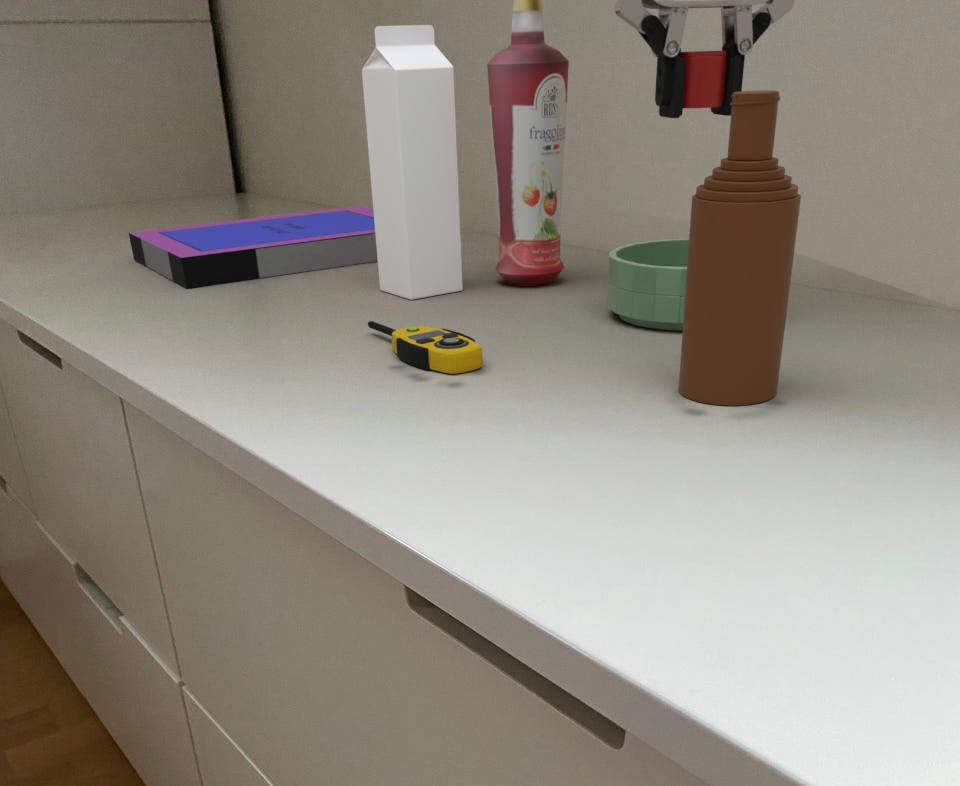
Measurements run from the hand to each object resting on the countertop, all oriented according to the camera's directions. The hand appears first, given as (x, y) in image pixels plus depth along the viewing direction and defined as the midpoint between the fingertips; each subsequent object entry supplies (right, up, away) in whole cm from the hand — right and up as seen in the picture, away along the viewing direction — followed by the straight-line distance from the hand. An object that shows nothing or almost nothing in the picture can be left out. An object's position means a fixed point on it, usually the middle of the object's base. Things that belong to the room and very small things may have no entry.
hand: (696, 113), depth 76 cm
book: (-40, +4, +39) cm, 56 cm away
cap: (0, 0, 0) cm, 0 cm away
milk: (-23, -7, +20) cm, 31 cm away
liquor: (-12, -5, +22) cm, 25 cm away
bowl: (+1, -13, +8) cm, 15 cm away
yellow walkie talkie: (-22, -19, +1) cm, 29 cm away
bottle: (0, -24, -11) cm, 26 cm away
